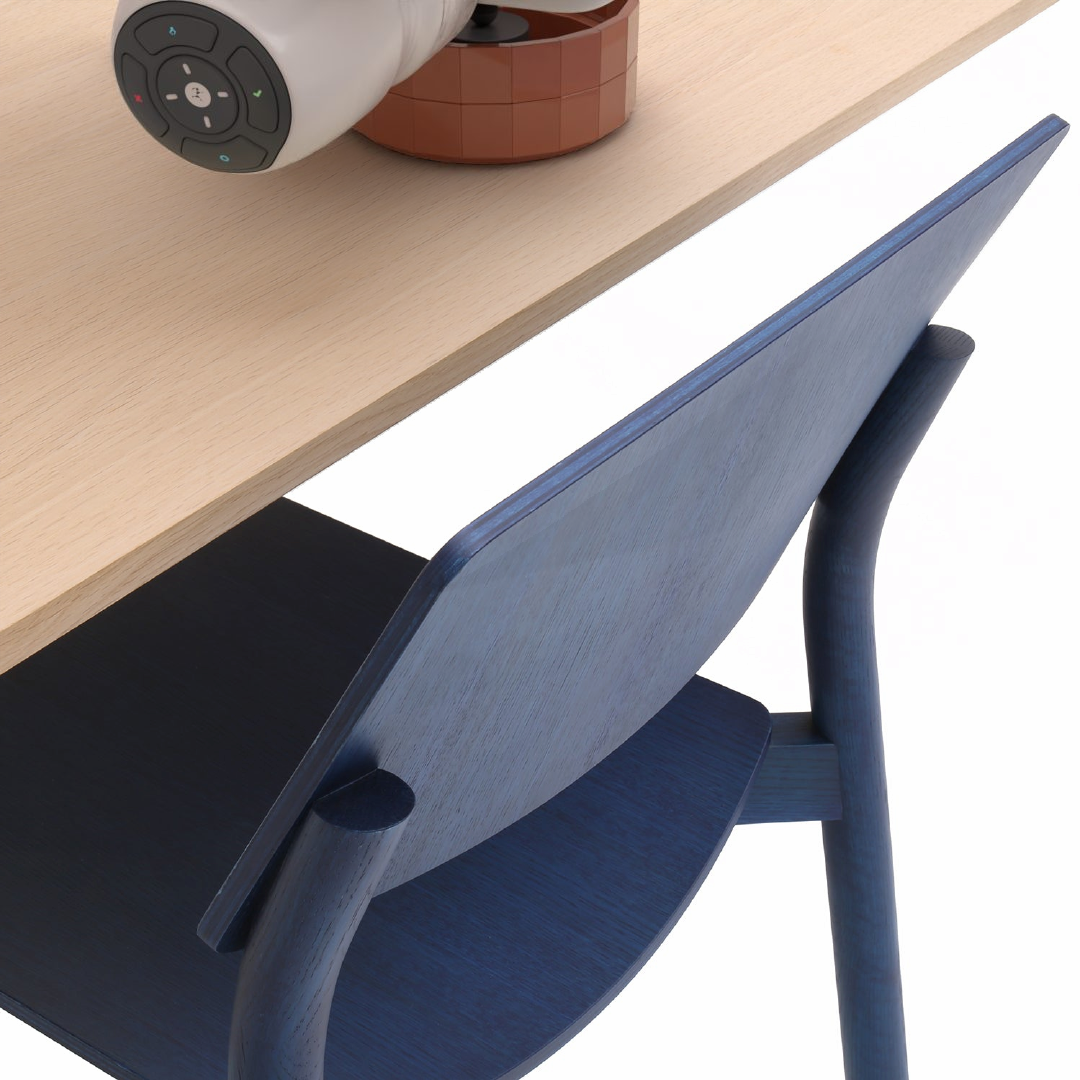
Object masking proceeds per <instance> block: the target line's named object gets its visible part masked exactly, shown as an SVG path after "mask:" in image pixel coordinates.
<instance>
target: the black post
mask: <svg viewBox="0 0 1080 1080" xmlns="http://www.w3.org/2000/svg"><path fill="white" fill-rule="evenodd" d="M525 41H530V26H529V23H528V22H527V20H525V19H524V18H522V17H520V16H518V15H515V14H512V13H508V12H503V11H498V6H497V5H489V4H480V3H477V4H476V7H475V9H474V11H473V14H472V15H471V17H470V19H469V21H468V22H467V24H466V25H465V26H464V28H463V29H462V30H461V31H460V32H459V33H458V35H457V36H456V37H454V38H453V39H452V40H451V41H450V43H460V44H481V43H516V42H525Z"/></svg>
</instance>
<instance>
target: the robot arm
mask: <svg viewBox="0 0 1080 1080" xmlns="http://www.w3.org/2000/svg"><path fill="white" fill-rule="evenodd" d="M612 1H613V0H118V3H117V5H116V10H115V13H114V16H113V17H114V18H113V21H112V26H111V27H112V28H111V34H110V62H111V67H112V71H113V75H114V78H115V81H116V84H117V87H118V90H119V93H120V95H121V97H122V99H123V101H124V104H125V105H126V107H127V109H128V110H129V112H130V113H131V115H132V116H133V117H134V119H135V120H136V121H137V123H138V124H139V125H140V126H141V127H142V128H143V129H144V130H145V132H147V134H149V136H151V137H152V138H153V139H154V140H155V141H156V142H158V143H159V144H160V145H161V146H163V147H164V148H165V149H166V150H168V151H170V152H171V153H173V154H174V155H176V156H178V157H179V158H182V159H183V160H185V161H187V162H189V163H191V164H193V165H196V166H198V167H201V168H204V169H206V170H209V171H214V172H218V173H224V174H232V175H246V176H247V175H259V174H267V173H270V172H274V171H277V170H280V169H283V168H285V167H287V166H289V165H292V164H295V163H296V162H299V161H300V160H303V159H305V158H307V157H308V156H310V155H313V154H314V153H315V152H317V151H319V150H320V149H322V148H324V147H326V146H328V144H330V143H331V142H333V141H334V140H336V139H338V138H339V137H340V136H342V135H344V133H346V132H347V131H348V130H350V129H352V128H351V127H352V126H353V125H355V124H356V123H357V122H358V121H359V120H361V119H362V118H363V117H364V116H365V115H367V114H368V113H369V112H370V111H371V110H372V109H373V108H374V107H375V106H376V105H377V104H378V103H379V102H380V101H381V100H382V99H383V98H384V96H385V95H386V94H387V92H388V91H389V89H390V87H393V86H395V85H397V84H399V83H400V82H402V81H404V80H405V79H407V78H408V77H409V76H411V75H412V74H413V73H414V72H416V71H417V70H418V69H419V68H420V67H421V66H423V65H424V64H425V63H426V62H427V61H428V60H429V59H430V58H432V57H433V56H434V55H435V54H436V53H437V52H439V51H440V50H441V49H442V48H443V47H444V46H445V45H446V44H448V43H449V42H450V41H451V40H452V39H453V38H454V37H456V36H457V35H458V33H459V32H460V31H461V30H462V29H463V28H464V26H465V25H466V24H467V22H468V21H469V19H470V17H471V15H472V14H473V11H474V9H475V7H476V4H477V3H480V4H489V5H497V6H505V7H513V8H521V9H529V10H538V11H546V12H556V13H578V12H586V11H590V10H594V9H597V8H600V7H602V6H604V5H606V4H608V3H610V2H612Z"/></svg>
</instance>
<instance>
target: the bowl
mask: <svg viewBox="0 0 1080 1080" xmlns="http://www.w3.org/2000/svg"><path fill="white" fill-rule="evenodd" d="M640 3H641V2H640V0H613V1H612V2H610V3H608V4H606V5H604V6H602V7H600V8H597V9H594V10H590V11H586V12H578V13H556V12H546V11H538V10H529V9H521V8H513V7H505V6H498V11H503V12H508V13H512V14H515V15H518V16H520V17H522V18H524V19H525V20H527V22H528V23H529V26H530V41H525V42H516V43H481V44H460V43H450V42H449V43H448V44H446V45H445V46H444V47H443V48H442V49H441V50H440V51H439V52H437V53H436V54H435V55H434V56H433V57H432V58H430V59H429V60H428V61H427V62H426V63H425V64H424V65H423V66H421V67H420V68H419V69H418V70H417V71H416V72H414V73H413V74H412V75H411V76H409V77H408V78H407V79H405V80H404V81H402V82H400V83H399V84H397V85H395V86H393V87H390V89H389V91H388V92H387V94H386V95H385V96H384V98H383V99H382V100H381V101H380V102H379V103H378V104H377V105H376V106H375V107H374V108H373V109H372V110H371V111H370V112H369V113H368V114H367V115H365V116H364V117H363V118H362V119H361V120H359V121H358V122H357V123H356V124H355V125H353V126H352V127H351V128H350V129H353V130H355V131H357V132H358V133H359V134H361V135H364V137H366V138H367V139H369V140H370V141H372V142H374V143H376V144H378V145H379V146H381V147H384V148H386V149H389V150H391V151H393V152H398V153H400V154H403V155H407V156H410V157H415V158H419V159H424V160H428V161H429V160H430V161H437V162H442V163H443V162H444V163H453V164H467V165H468V164H469V165H502V164H515V163H524V162H533V161H538V160H545V159H549V158H555V157H558V156H561V155H565V154H569V153H572V152H575V151H579V150H581V149H583V148H585V147H588V146H590V145H592V144H594V143H596V142H598V141H600V140H601V139H602V138H604V137H605V136H606V135H608V134H610V133H611V132H613V131H614V130H616V129H618V128H620V127H621V126H623V125H624V124H625V123H626V121H627V119H629V117H630V115H631V113H632V112H633V110H634V108H635V107H636V102H637V77H638V53H639V51H638V50H639V28H640V27H639V26H640V6H641V5H640Z"/></svg>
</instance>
